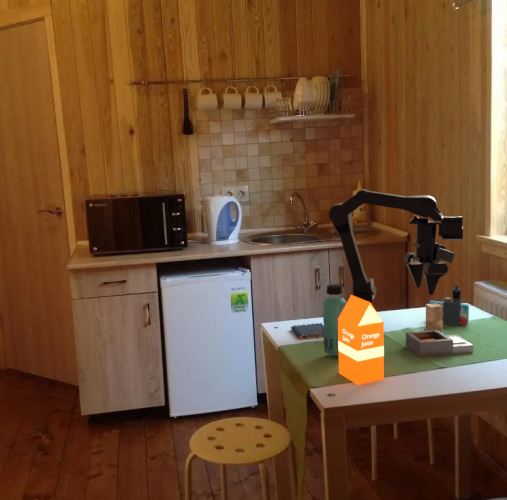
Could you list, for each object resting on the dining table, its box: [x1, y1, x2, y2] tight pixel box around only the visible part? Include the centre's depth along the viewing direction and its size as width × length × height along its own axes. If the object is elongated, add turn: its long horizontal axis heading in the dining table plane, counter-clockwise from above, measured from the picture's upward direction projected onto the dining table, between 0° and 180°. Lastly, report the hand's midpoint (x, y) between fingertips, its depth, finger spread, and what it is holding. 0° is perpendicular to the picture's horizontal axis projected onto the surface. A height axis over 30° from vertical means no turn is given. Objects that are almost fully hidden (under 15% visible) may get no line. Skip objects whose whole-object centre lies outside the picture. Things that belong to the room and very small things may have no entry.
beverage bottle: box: [322, 283, 347, 356], centre depth 170 cm, size 6×7×20 cm
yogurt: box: [428, 300, 470, 326], centre depth 197 cm, size 12×2×6 cm, turn 57°
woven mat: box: [290, 322, 324, 340], centre depth 193 cm, size 10×11×2 cm
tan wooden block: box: [425, 303, 443, 333], centre depth 186 cm, size 4×4×9 cm
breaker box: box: [405, 330, 474, 358], centre depth 174 cm, size 15×9×4 cm, turn 100°
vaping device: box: [443, 285, 462, 325], centre depth 195 cm, size 3×5×12 cm, turn 82°
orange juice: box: [338, 294, 385, 386], centre depth 155 cm, size 8×9×20 cm
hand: (424, 291), depth 187 cm, fingers open, 9 cm apart
